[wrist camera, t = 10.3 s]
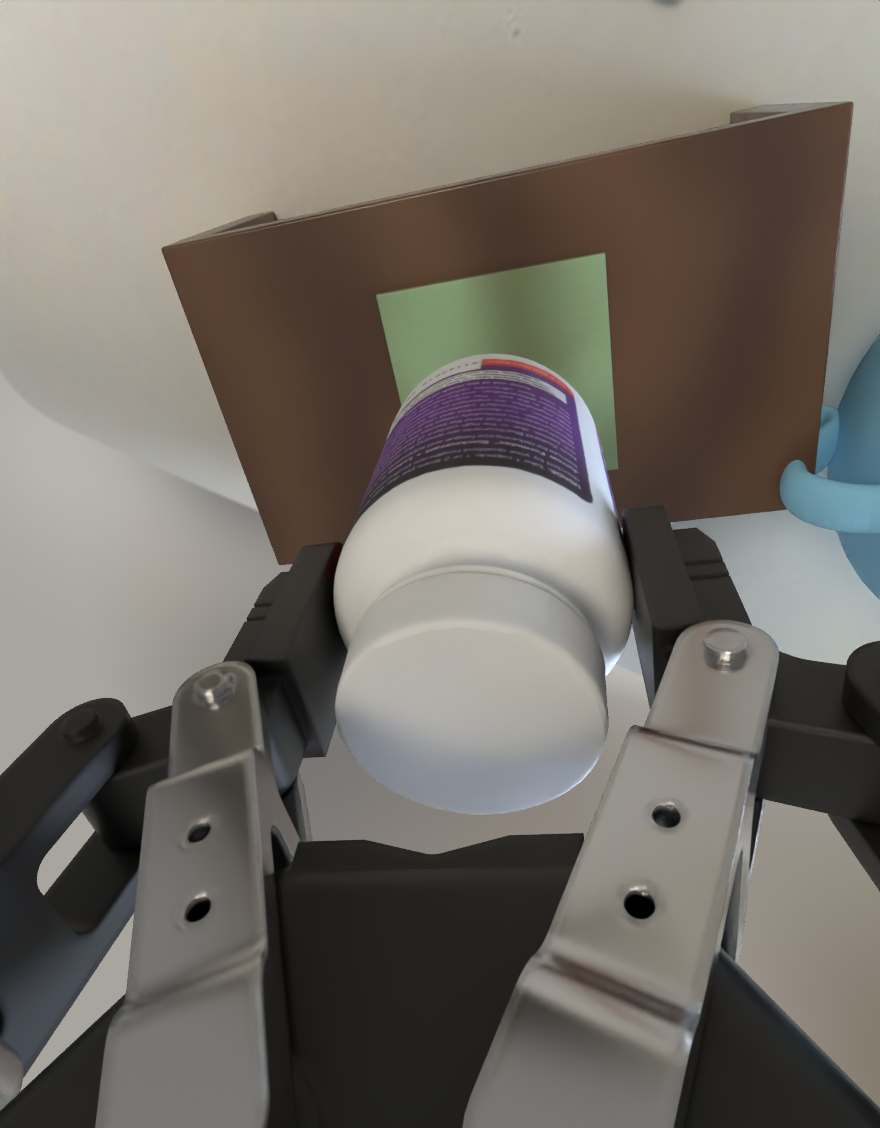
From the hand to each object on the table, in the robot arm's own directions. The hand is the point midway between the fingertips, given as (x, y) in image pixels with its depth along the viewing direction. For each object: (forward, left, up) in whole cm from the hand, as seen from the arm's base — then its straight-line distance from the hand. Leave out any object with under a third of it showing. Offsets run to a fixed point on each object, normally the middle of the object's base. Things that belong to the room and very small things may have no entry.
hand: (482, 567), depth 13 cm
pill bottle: (0, 0, -6) cm, 6 cm away
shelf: (0, 0, -19) cm, 19 cm away
